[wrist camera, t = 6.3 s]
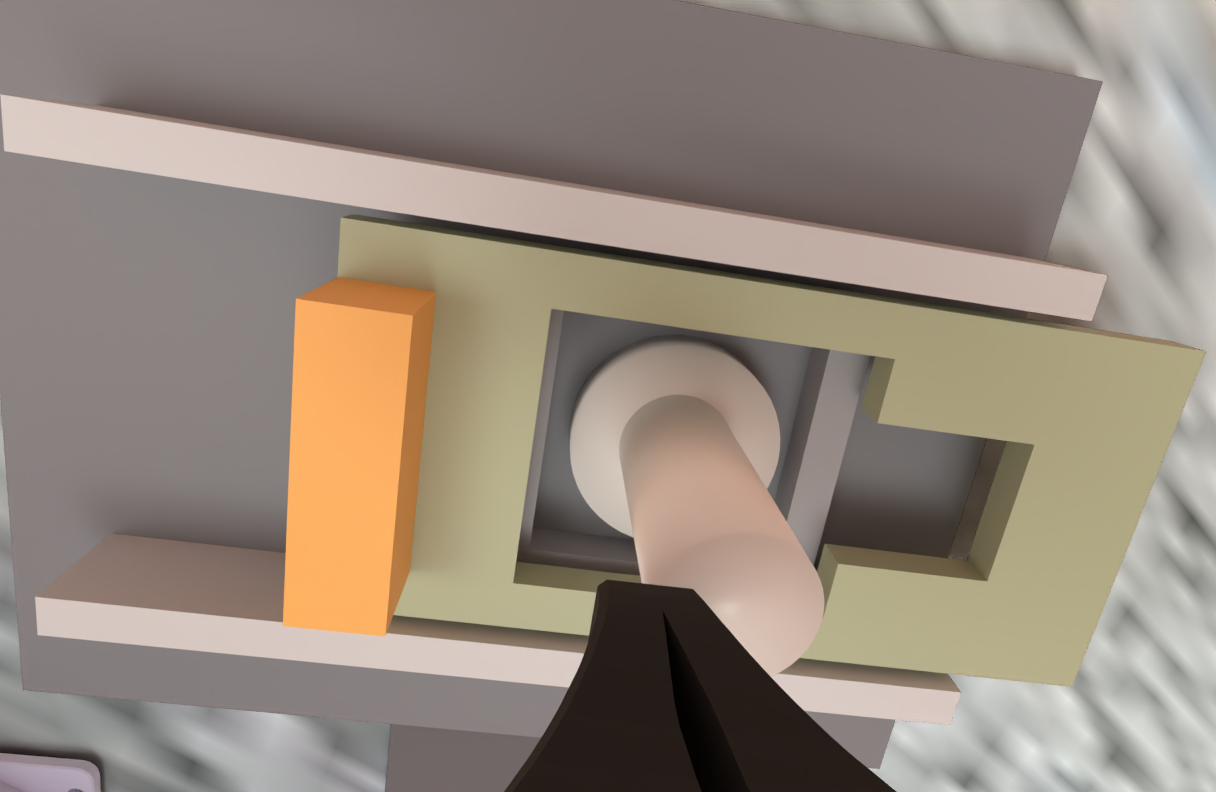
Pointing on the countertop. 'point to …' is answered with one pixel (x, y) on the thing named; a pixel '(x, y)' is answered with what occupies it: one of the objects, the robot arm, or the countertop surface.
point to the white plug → (698, 487)
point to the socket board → (480, 203)
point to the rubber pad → (453, 759)
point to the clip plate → (721, 303)
